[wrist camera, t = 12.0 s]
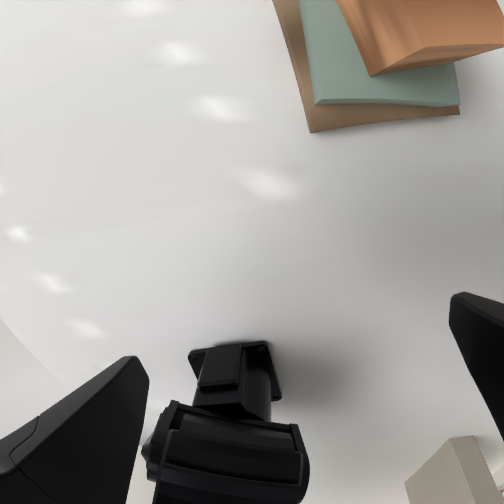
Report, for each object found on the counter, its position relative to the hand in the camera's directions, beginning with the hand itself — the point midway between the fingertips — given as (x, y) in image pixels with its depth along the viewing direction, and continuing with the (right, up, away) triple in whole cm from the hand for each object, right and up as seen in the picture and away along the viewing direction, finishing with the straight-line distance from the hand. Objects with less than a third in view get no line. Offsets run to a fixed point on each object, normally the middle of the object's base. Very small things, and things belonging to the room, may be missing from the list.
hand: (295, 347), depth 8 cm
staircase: (+26, -27, +23) cm, 44 cm away
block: (+6, +14, +4) cm, 16 cm away
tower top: (+6, +15, +6) cm, 17 cm away
